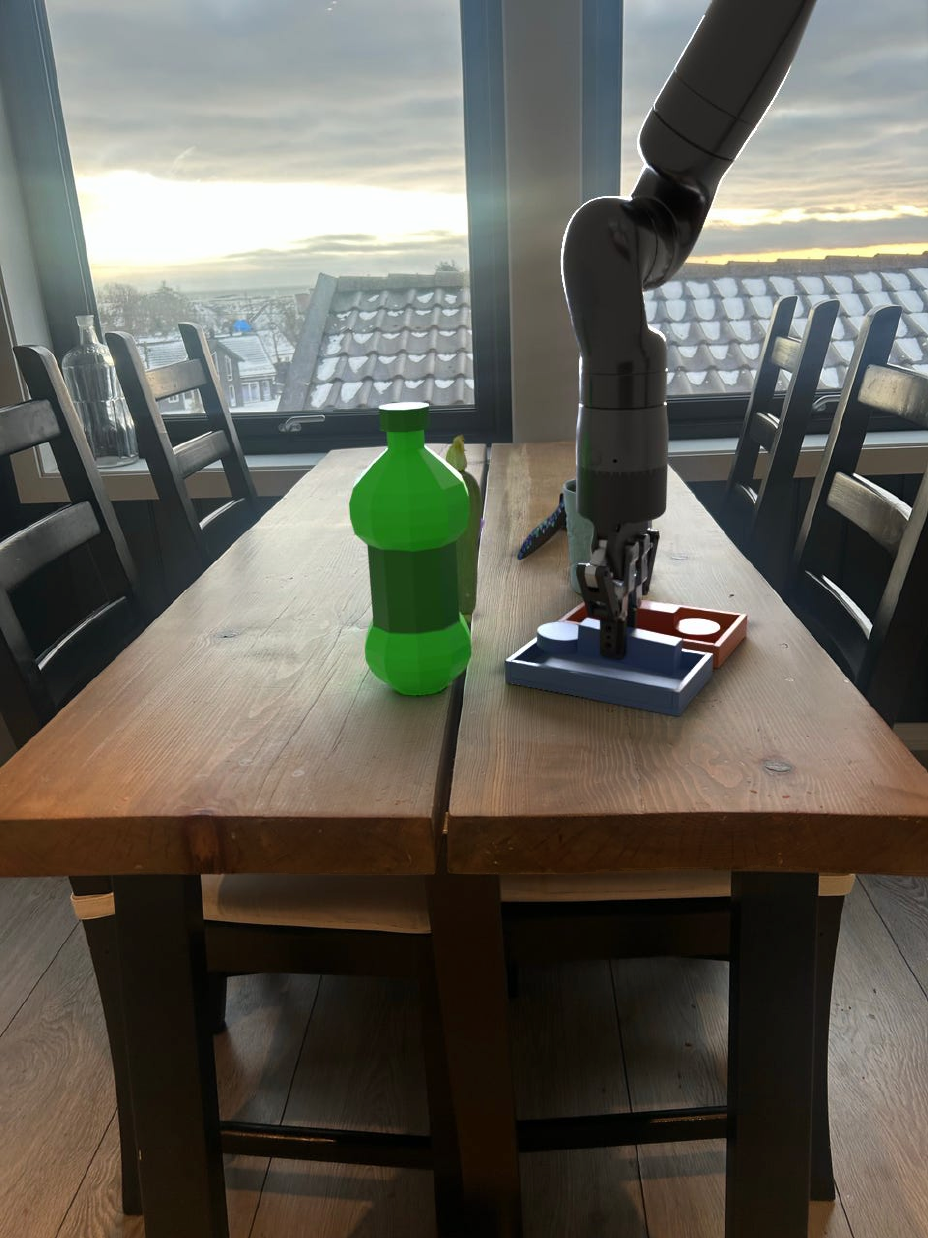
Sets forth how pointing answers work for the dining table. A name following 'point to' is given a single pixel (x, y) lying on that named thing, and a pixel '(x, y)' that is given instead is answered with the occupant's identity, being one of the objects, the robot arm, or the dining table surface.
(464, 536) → the vegetable
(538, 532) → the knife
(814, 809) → the dining table surface
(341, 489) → the dining table surface
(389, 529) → the plastic bottle
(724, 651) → the red tray
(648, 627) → the red bar with disc
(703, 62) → the robot arm
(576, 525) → the green cup
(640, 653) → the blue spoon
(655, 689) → the blue tray
